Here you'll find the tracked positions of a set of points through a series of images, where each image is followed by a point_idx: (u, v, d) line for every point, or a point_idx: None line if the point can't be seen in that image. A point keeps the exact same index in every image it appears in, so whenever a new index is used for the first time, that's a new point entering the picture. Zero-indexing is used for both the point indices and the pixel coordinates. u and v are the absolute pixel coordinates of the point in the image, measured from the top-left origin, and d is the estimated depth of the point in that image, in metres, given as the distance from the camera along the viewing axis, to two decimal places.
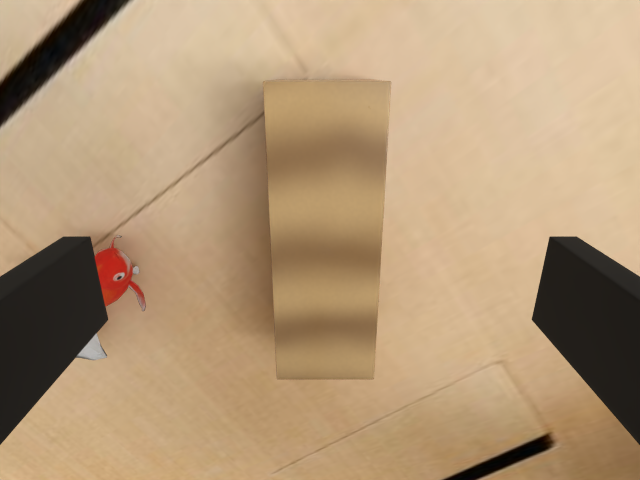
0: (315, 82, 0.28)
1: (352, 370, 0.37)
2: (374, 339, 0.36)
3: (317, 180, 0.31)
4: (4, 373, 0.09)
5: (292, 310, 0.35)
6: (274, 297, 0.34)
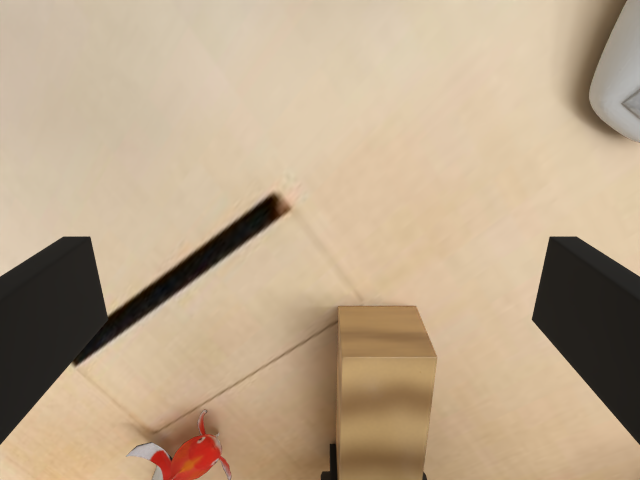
0: (381, 357, 0.38)
1: None
2: None
3: (378, 415, 0.40)
4: (5, 374, 0.09)
5: None
6: None
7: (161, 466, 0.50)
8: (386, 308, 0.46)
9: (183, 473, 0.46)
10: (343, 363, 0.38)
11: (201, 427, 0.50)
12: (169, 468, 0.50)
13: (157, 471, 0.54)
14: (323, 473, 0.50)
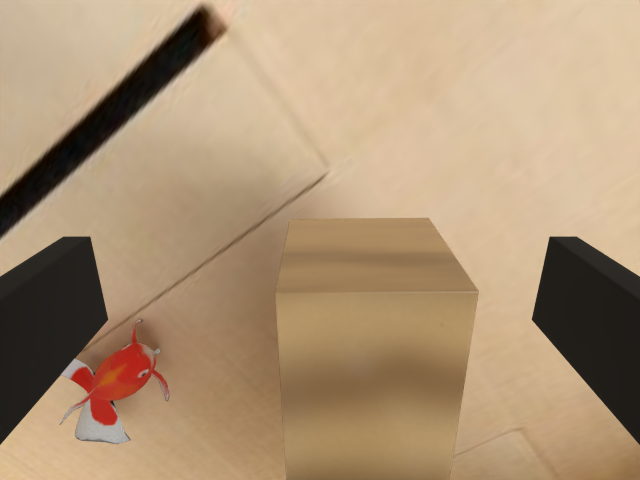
0: (358, 293, 0.18)
1: None
2: None
3: (357, 413, 0.20)
4: (4, 374, 0.09)
5: None
6: None
7: (86, 387, 0.41)
8: (375, 221, 0.25)
9: (103, 387, 0.36)
10: (278, 306, 0.18)
11: (133, 338, 0.40)
12: None
13: None
14: None
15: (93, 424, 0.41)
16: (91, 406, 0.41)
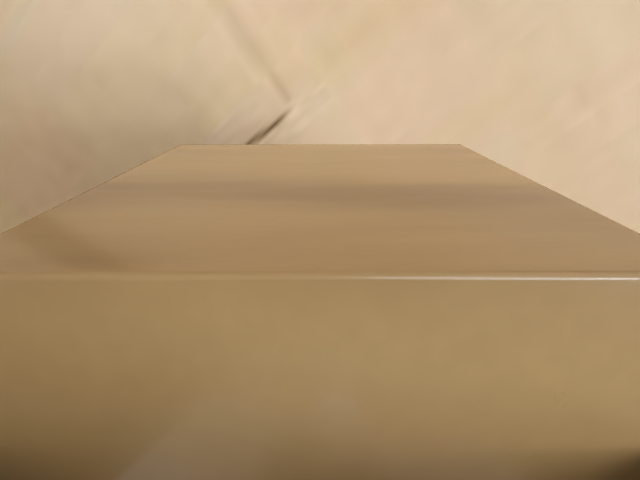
0: (246, 279, 0.04)
1: None
2: None
3: None
4: None
5: None
6: None
7: None
8: (351, 147, 0.12)
9: None
10: None
11: None
12: None
13: None
14: None
15: None
16: None
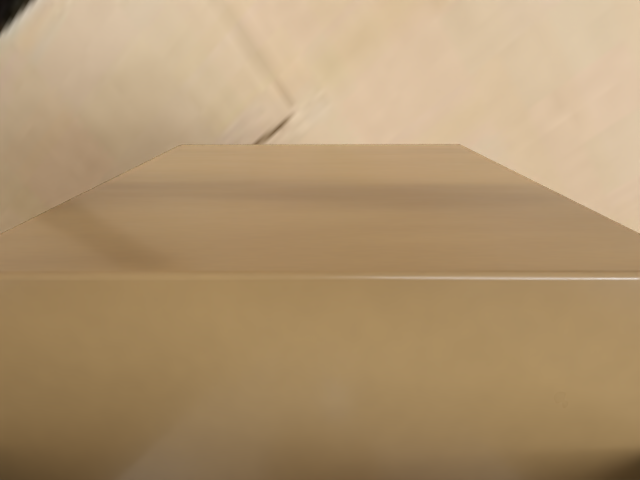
0: (246, 279, 0.04)
1: None
2: None
3: None
4: None
5: None
6: None
7: None
8: (351, 146, 0.12)
9: None
10: None
11: None
12: None
13: None
14: None
15: None
16: None
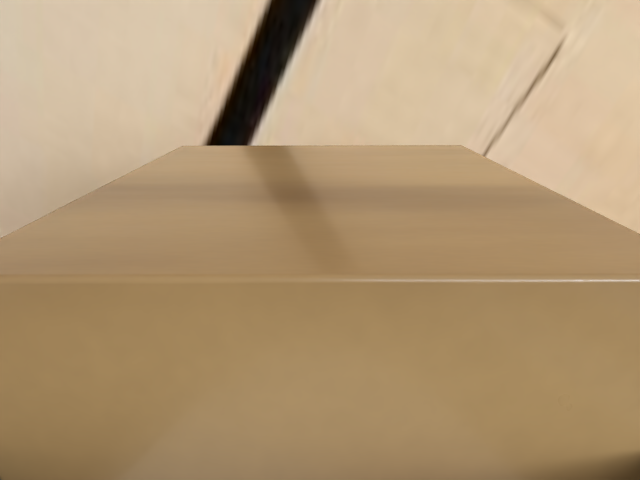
0: (250, 282, 0.04)
1: None
2: None
3: None
4: None
5: None
6: None
7: None
8: (353, 148, 0.12)
9: None
10: None
11: None
12: None
13: None
14: None
15: None
16: None
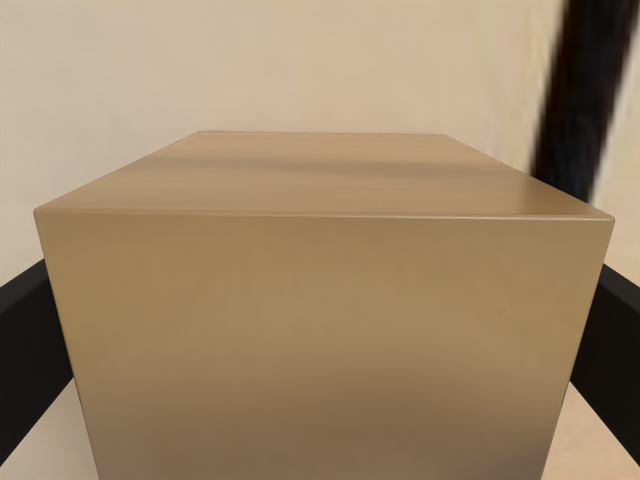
0: (272, 216, 0.06)
1: None
2: None
3: None
4: (31, 364, 0.09)
5: None
6: None
7: None
8: (350, 135, 0.14)
9: None
10: (49, 252, 0.06)
11: None
12: None
13: None
14: None
15: None
16: None
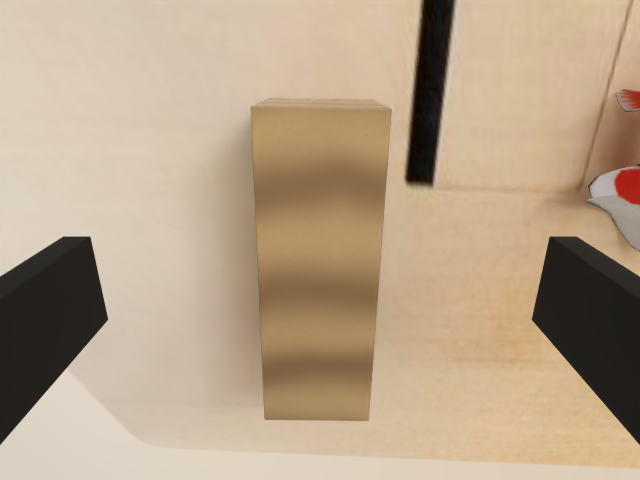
0: (308, 108, 0.26)
1: (346, 411, 0.34)
2: (369, 379, 0.33)
3: (310, 212, 0.28)
4: (4, 374, 0.09)
5: (281, 348, 0.32)
6: (262, 335, 0.32)
7: (637, 192, 0.33)
8: (332, 99, 0.33)
9: None
10: (253, 118, 0.26)
11: (639, 103, 0.32)
12: None
13: (627, 224, 0.36)
14: None
15: None
16: None
